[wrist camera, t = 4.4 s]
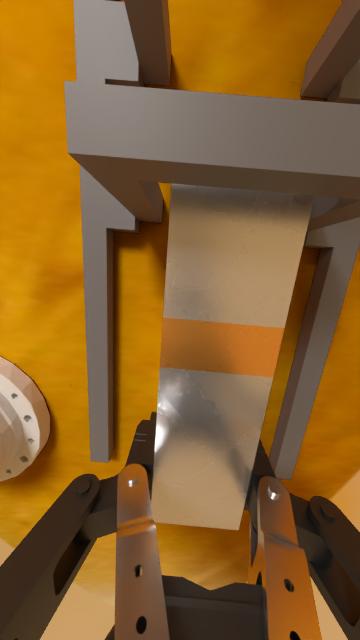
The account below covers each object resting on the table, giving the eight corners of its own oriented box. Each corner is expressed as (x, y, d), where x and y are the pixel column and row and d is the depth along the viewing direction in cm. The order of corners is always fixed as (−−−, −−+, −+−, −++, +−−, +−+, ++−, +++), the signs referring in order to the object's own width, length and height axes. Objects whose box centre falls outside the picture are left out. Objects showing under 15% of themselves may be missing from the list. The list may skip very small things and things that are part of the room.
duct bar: (179, 189, 10) (174, 135, 6) (267, 197, 10) (325, 148, 6) (160, 446, 14) (150, 521, 10) (223, 451, 14) (238, 530, 10)
